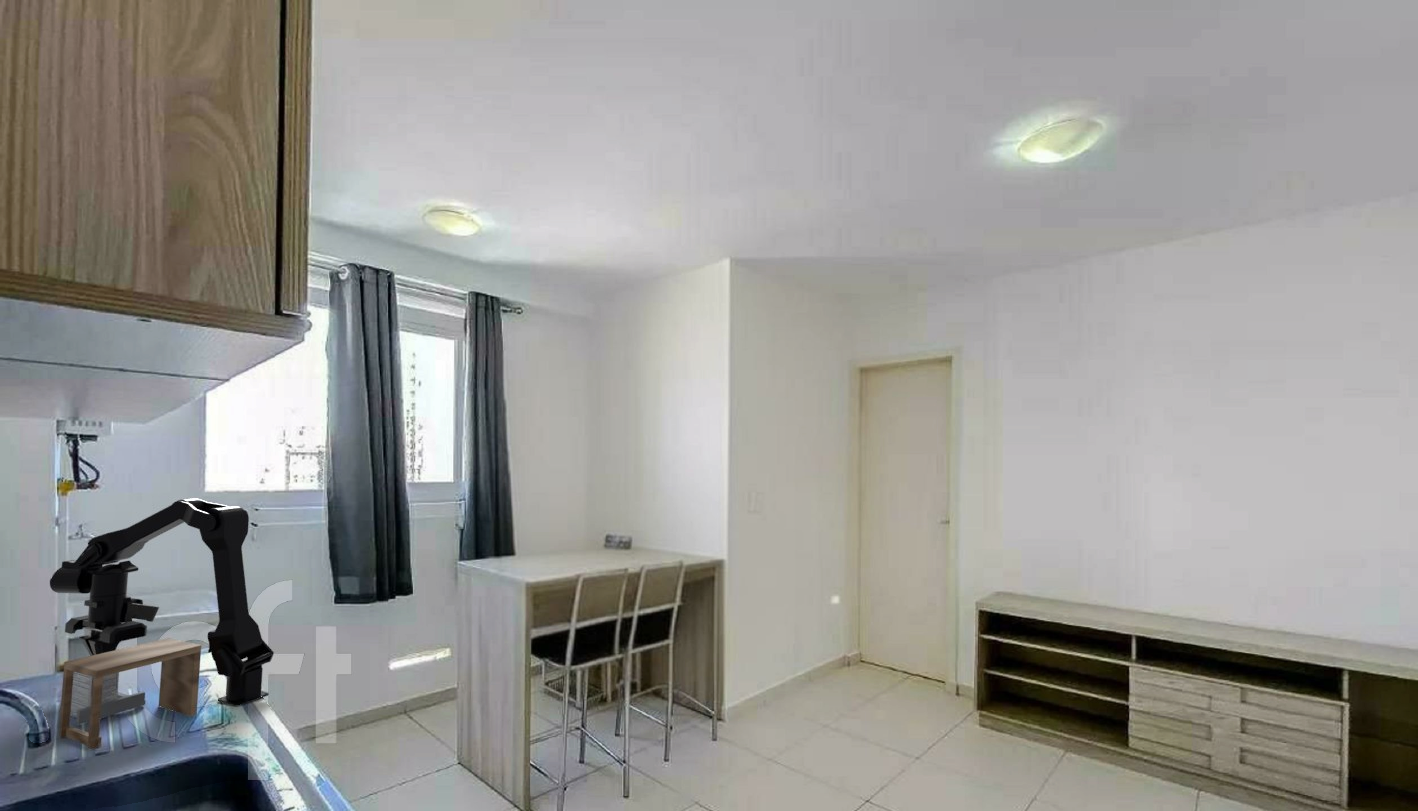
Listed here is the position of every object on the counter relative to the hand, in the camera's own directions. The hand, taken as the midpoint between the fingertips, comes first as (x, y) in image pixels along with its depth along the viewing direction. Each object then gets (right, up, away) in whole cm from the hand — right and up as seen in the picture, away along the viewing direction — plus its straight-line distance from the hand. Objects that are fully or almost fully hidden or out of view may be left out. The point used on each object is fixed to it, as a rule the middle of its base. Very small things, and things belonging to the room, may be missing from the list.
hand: (102, 669), depth 133 cm
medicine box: (+8, -5, -10) cm, 14 cm away
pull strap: (+3, -4, -6) cm, 8 cm away
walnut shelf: (+19, -4, -15) cm, 25 cm away
